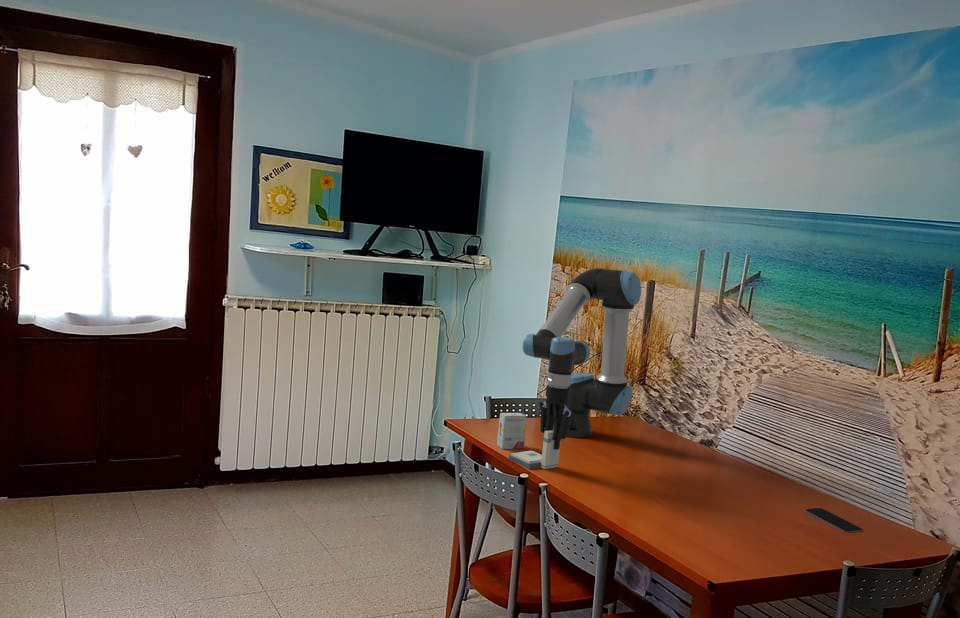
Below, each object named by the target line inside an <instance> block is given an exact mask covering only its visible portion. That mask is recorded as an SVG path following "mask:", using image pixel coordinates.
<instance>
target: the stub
mask: <svg viewBox="0 0 960 618" xmlns="http://www.w3.org/2000/svg"><path fill="white" fill-rule="evenodd" d="M552 438H554V430H549V431H545V432H544V433H543V440H542V441H543V442H542V451H541V455H542V459H541V467H540V468H541V469H543V470H547V469H548V470H549V469H552V468H553V469H554V468H558V467H559V461H560V451H561V446H560V447H559V449H558V454H557V459H549V457H550V448H551V439H552ZM561 441H562V439H561V440H560V444H561Z"/></svg>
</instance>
